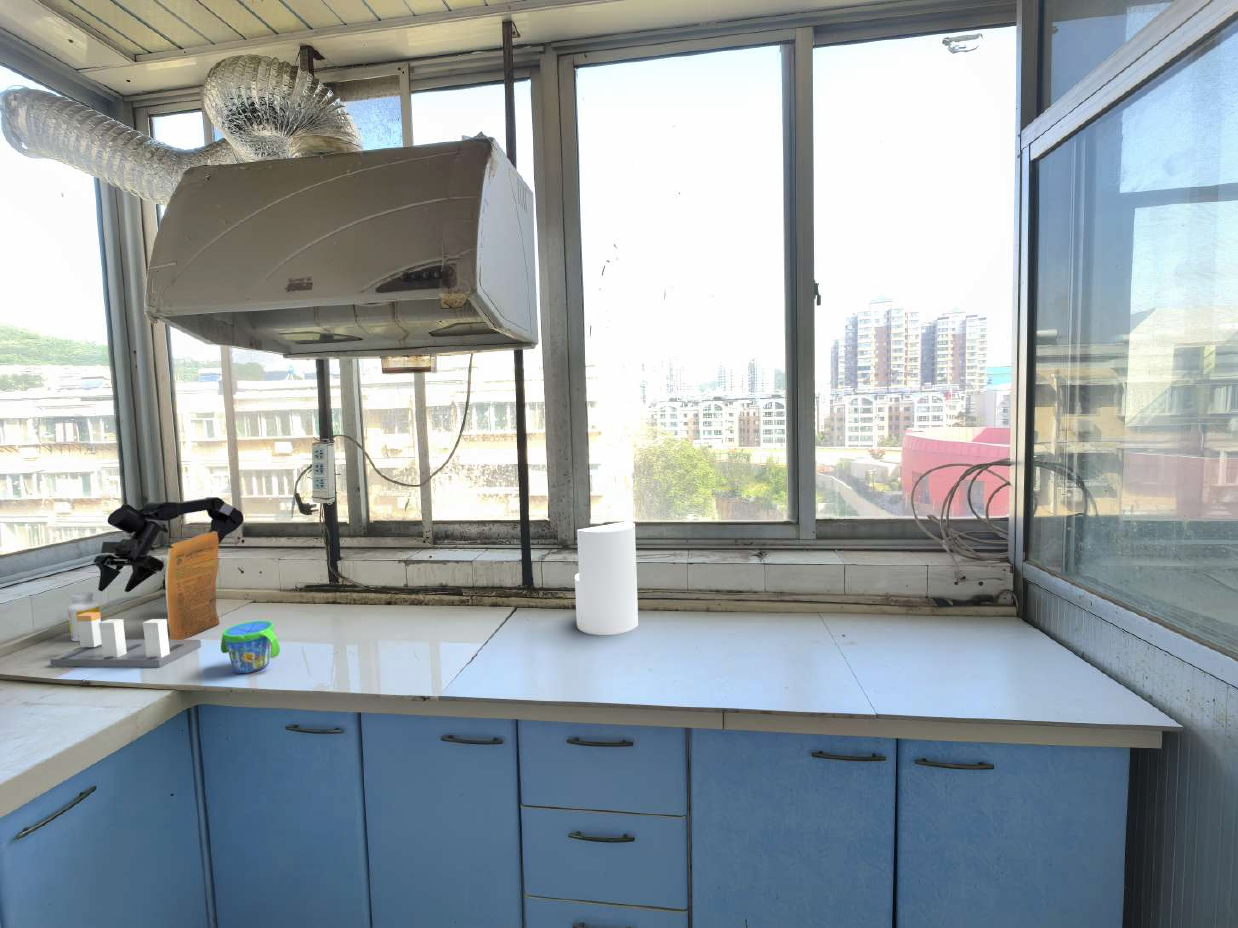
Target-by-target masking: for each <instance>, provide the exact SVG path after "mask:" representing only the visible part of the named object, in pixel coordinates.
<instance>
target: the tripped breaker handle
mask: <svg viewBox="0 0 1238 928" xmlns="http://www.w3.org/2000/svg"><path fill="white" fill-rule="evenodd" d="M101 617H102V615H101V612H100V611H99V612H86V613H83V614H80V615H77V622H78V630H79V638H80V641H79V645H80V647H96V646H98V645H101V644H102V642H101V634H100V628H99V623H100V622H102V620H101Z"/></svg>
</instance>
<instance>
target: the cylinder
mask: <svg viewBox="0 0 1238 928" xmlns="http://www.w3.org/2000/svg"><path fill="white" fill-rule="evenodd" d="M576 537H577V539H576V540H577V557H578V558H577V559H578V560H577V563H578V573H576V574H575V576H574V591H575V613H576V617H575V618H576V627H577V629H578V630H579V631H581V632H583V633H585V634H590V635H595V636H596V635H597V636H613V635H619V634H625V633H628V632H631V631H633V630H634V629H636V628H637V627H638V625H639V609H638V608H639V607H638V581H637V580H638V579H637V578H638V577H637V548H636V547H637V546H636V523H634V522H632V521H631V520H630V521H622V522H616V523H610V524H606V525H605V524H604V525H598V526H593V527H587V528H580V529H577V530H576Z"/></svg>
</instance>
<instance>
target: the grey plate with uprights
mask: <svg viewBox="0 0 1238 928" xmlns="http://www.w3.org/2000/svg"><path fill="white" fill-rule="evenodd" d="M167 620H168V618H167V619H166V618H151V619H149V620H146V621H144V622H142V628H143V635H144V639H126V636H125V634H126V633H125V628H124V627H125V626H124V625H125V624H124V623H125V621H124V619H122V618H117V619H116V618H111V619H109V618H108V619H105V620H102V621H101V622H100V623H99V628H100V634H101V642H102V644H101V645H98V646H96V647H77V648H74V649H73V650H69V651H67V652H64V653H62V654H59V655H57V656H55V657H52V658H50V659H49V662H50V663H49V664H50V667H51V666H95V667H94V668H150V669H151V668H156V669H157V668H158V669H159V668H162V667H164V666H166V665H168V664H169V663H172V662H174V661H176V660H177V659H180V658H182V657H183V656H186V655H187V654H189V653H192V652H193V651H195V650H198V649H200V648H201V647H202V644H201V643H202V642H201V639H183V640H170V639H169V635H168V621H167ZM97 666H99V667H97ZM103 666H104V667H103Z"/></svg>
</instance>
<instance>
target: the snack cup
mask: <svg viewBox="0 0 1238 928" xmlns="http://www.w3.org/2000/svg"><path fill="white" fill-rule="evenodd" d="M274 627H275V624H274V623H273V622H272V621H269V620H252V621H247V622H241V623H237V624H234V625H232V626H230V627H228V628H226V629H225V630H223V632H222V636H221V642H220V651H221V653H223V654H228V657H229V660H230V663H231V666H232V670H233V672H234V673H238V674H243V673H244V674H250V673H253V672H258V671H261V670H263V669H264V668H266V667H267V666H269V663H270V659H274V658H276V657H277V656H279V654H280V651H281V648H280V645H279V640H278V638H277V636H276V634H275V632H274Z"/></svg>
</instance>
